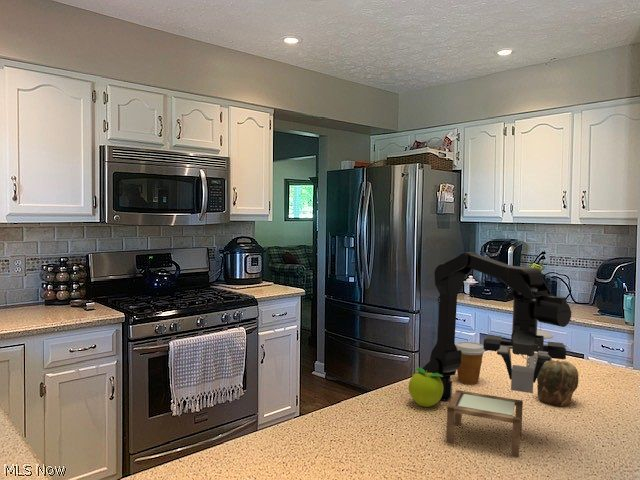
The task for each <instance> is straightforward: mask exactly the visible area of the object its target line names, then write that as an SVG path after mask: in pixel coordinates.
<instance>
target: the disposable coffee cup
mask: <svg viewBox="0 0 640 480" xmlns="http://www.w3.org/2000/svg"><path fill="white" fill-rule="evenodd" d="M455 345H456V347H457V349H458V350H461V352H462V354H461V363H462V364H460V366H459V369H457V370H456V373H457V381H458V382H459V383H461V384H464V385H477V384H478V383H479V380H480V373H481V367H482V364H483V363H482V361H483V355H484V354H485V351H486V350H484V349H483V348H484V344H481V343H479V342H473V341H458V342H455Z"/></svg>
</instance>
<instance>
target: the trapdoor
mask: <svg viewBox="0 0 640 480" xmlns="http://www.w3.org/2000/svg"><path fill="white" fill-rule="evenodd" d="M457 407H463V408H469V409H475V410H480V411H486V412H492V413H498V414H503V415H509V416H514V411H515V408H516V406H515V402H511V401H505V400H499V399H493V398H487V397H480V396H474V395H468V394H463V395H462V397H461V399H460V401H459V403H458V405H457Z"/></svg>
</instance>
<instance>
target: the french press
mask: <svg viewBox="0 0 640 480" xmlns="http://www.w3.org/2000/svg"><path fill="white" fill-rule="evenodd" d="M537 335H540V336H544V340H547V339H549V340H550V339H553V338H554V335H553V334H552V333H550V332H549V331H546V330H543V329H542V326H540V329H537ZM537 353H538V352H534V355H533V356H527V355H526V357H525V355H521V354H520V356H521V357H522V358H523V359H525V360H526V367H534V369H535V364H536V358H537ZM551 360H553V358H551ZM546 362H547V361H546ZM546 362H545V363H546Z"/></svg>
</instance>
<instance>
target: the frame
mask: <svg viewBox="0 0 640 480" xmlns="http://www.w3.org/2000/svg"><path fill="white" fill-rule="evenodd" d="M463 394H468V395H474V396H480V397H487V398H493V399H499V400H505V401H511V402H515V416H514V415H513V416H509V415H503V414H498V413H492V412H486V411H480V410H475V409H469V408H463V407H457V405H458V403H459V401H460V399H461V397H462V395H463ZM523 403H524V400H522V399H514V398H509V397H502V396H497V395H489V394H485V393H484V394H482V393H479V392H471V391H464V390H458V389H456V390H455V392H454V393H453V395H452V397H451V400H450V401H449V403H448V406H447V409H446V411H447V413H446V437H445V438H446V439H445V442H446V443H447V444H453V443H454V441H455V425H456V426H461V425H462V420H463V419H462V415H467V416H472V417H478V418H483V419H488V420H495V421H499V422H505V423H509V424H510V423H511V424H512V430H511V431H512V435H511V437H512V438H511V456H513V457H516V458H519V457H520V440H521V439H520V438H521V437H522V432H523V431H522V429H523V407H524V406H523V405H524V404H523Z"/></svg>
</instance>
